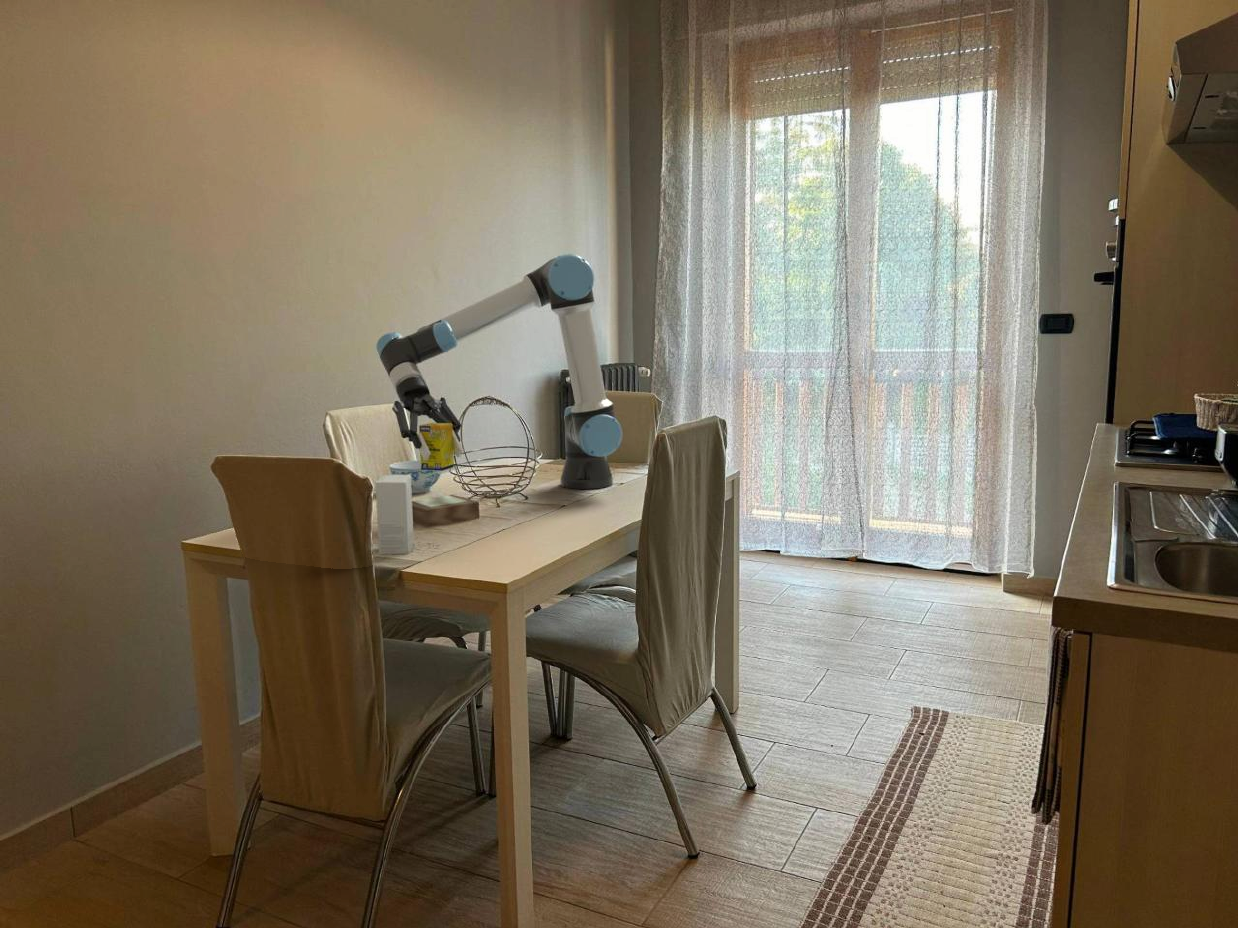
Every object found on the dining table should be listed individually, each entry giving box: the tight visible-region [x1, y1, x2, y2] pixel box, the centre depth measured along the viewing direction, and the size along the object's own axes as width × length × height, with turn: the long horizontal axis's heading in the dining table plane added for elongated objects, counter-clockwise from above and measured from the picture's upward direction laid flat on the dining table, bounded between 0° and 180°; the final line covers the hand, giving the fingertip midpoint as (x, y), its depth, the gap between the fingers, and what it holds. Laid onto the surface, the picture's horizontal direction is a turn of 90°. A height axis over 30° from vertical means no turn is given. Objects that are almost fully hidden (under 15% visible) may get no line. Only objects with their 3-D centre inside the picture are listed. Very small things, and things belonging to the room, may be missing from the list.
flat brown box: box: [412, 494, 480, 528], centre depth 225 cm, size 14×13×4 cm
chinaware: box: [388, 459, 443, 494], centre depth 262 cm, size 15×15×8 cm
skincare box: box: [375, 474, 415, 556], centre depth 194 cm, size 8×7×16 cm
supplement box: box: [418, 422, 455, 472], centre depth 223 cm, size 6×6×11 cm
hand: (444, 455), depth 221 cm, fingers closed on supplement box, 8 cm apart
